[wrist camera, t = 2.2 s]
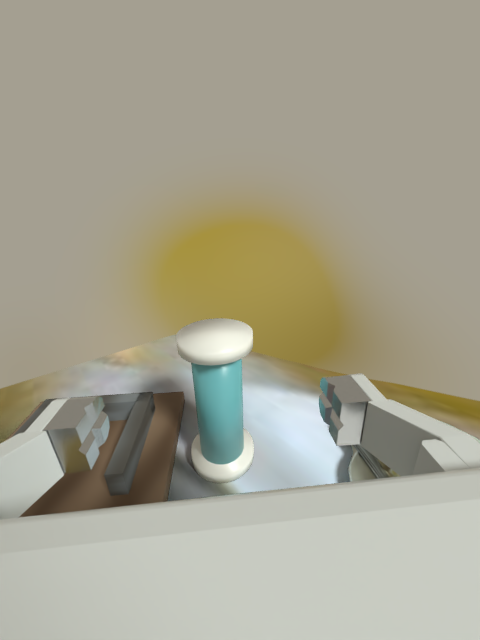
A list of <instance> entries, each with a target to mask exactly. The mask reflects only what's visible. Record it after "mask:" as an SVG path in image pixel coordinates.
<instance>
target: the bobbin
mask: <svg viewBox="0 0 480 640" xmlns="http://www.w3.org/2000/svg"><path fill="white" fill-rule="evenodd" d="M176 341H177V348H178V353H179V355H180V356H181V357H182V358H183V359H184V360H186V361H188V362H191V364H192V373H193V382H194V391H195V400H196V409H197V418H198V427H199V433H198V435H197V436H196V437H195V439H194V440H193V443H192V446H191V455H192V463H193V467H194V469H195V471H196V472H197V474H198V475H199V476H201V477H202V478H203V479H205V480H207V481H210V482H213V483H228V482H232V481H234V480H237V479H238V478H240V477H242V476H243V475H244V474H245V473H246V472H247V471H248V470H249V468H250V467H251V465H252V462H253V458H254V444H253V439H252V437H251V435H250V434H249V433H248V431H247V430H245V429H244V428H243V395H242V358H243V357H245V356H246V355H248V354H249V353H250V351H251V350H252V347H253V332H252V329H251V327H250V326H248V325H247V324H245V323H243V322H240V321H237V320H232V319H207V320H201V321H197V322H194V323H191V324H189V325H187V326H185V327H183V328H182V329H180V330H179V331H178V333H177V335H176Z"/></svg>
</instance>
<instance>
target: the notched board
mask: <svg viewBox="0 0 480 640" xmlns="http://www.w3.org/2000/svg"><path fill="white" fill-rule="evenodd" d="M88 397H93V396H88ZM100 397H101V398H102V399H103V402H104V405H105V406H104V408H103V409H102V411H103V412H104V413H105V414H107V415H108V418H109V426H110V428H109V433H108V437H107V439H106V441H105V443H104V444H102V445H101V446H100V447H99V448H98V450H99V455H98V457H97V459H96V461H95V463H94V465H93V467H92V469H91V470H89V471H81V472H74V473H66V474H64V476H63V477H62V478H61V479H59V480H58V481H57V482H56V483H55V484H54V485H53V486H52V487H51V488H50V489H49V490H48V491H47V492H45V493H44V494H43V495H42V496H41V497H40V498H39V499H38V500H37V501H36V502H35V503H34V504H32V505H31V506H30V507H29V508H28V509H27V510H26V511H25V512H24V513H23V514H22V515H21V516H20V517H27V516H37V515H46V514H55V513H64V512H74V511H83V510H92V509H101V508H111V507H120V506H129V505H139V504H148V503H157V502H166V501H167V500H168V494H169V488H170V482H171V476H172V471H173V465H174V459H175V453H176V447H177V442H178V436H179V430H180V424H181V418H182V413H183V407H184V401H185V400H184V393H183V392H171V393H157V394H153V393H152V392H145V393H131V394H116V395H102V396H100ZM74 398H77V397H74ZM60 399H64V398H60ZM53 400H56V399H46V400H45V401H44V402H41V403H40V404H39V405H38V406H37V407H36V408H35V409H34V410H33V411H32V412H31V414H30V415H29V416H28V417H27V418H26V419H25V420H24V421H23V422H22V423H21V424H20V425H19V427H18V428H17V429H16V430H15V431H14V432H13V433H12V434H11V435H10V436H9V437H8V438H7V439H6V440H8V439H10V438H12V437H13V436H15V435H17V434H19V433H24V432H25V431H26V430H27V429H28V428H29V427H30V426H31V424H32V423H33V422H34V421H35V420H36V419H37V418H38V417H39V415H40V414H41V413H42V412H43V411H44V410H45V409H46V408H47V407H48V405H49V404H50V403H51V402H52V401H53Z"/></svg>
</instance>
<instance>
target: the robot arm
mask: <svg viewBox="0 0 480 640" xmlns="http://www.w3.org/2000/svg"><path fill="white" fill-rule="evenodd" d="M320 388H321V389H322V391H323V393H322V394H321V395H320V396H319V408H320V413H321V416H322V418H323V420H324V422H325V423H327V424H328V425H330V426H329V432H330V434H331V436H332V438H333V440H334V442H335V443H336V445H337V446H342V445H356V444H361V446H362V447H363V448H365V449H366V450H367V451H369V452H370V453H371V454H372V455H374V456H375V457H376V458H378V459H379V460H380V461H381V462H383V463H384V464H385V465H387V466H388V467H389V468H391V469H392V470H393V471H394V472H396V473H397V474H398V475H400V476H398V477H389V478H380V479H371V480H362V481H352V482H343V483H334V484H325V485H315V486H306V487H297V488H287V489H278V490H268V491H259V492H249V493H240V494H231V495H222V496H212V497H203V498H194V499H185V500H175V501H166V502H157V503H148V504H139V505H129V506H120V507H111V508H101V509H92V510H83V511H74V512H64V513H55V514H46V515H37V516H27V517H20V516H21V515H22V514H23V513H24V512H25V511H26V510H27V509H28V508H29V507H30V506H31V505H32V504H34V503H35V502H36V501H37V500H38V499H39V498H40V497H41V496H42V495H43V494H44V493H45V492H47V491H48V490H49V489H50V488H51V487H52V486H53V485H54V484H55V483H56V482H57V481H58V480H59V479H61V478H62V477H63V476H64V474H66V473H74V472H81V471H89V470H91V469H92V467H93V465H94V463H95V461H96V459H97V457H98V455H99V450H98V448H99V447H100V446H101V445H102V444H104V443H105V441H106V439H107V437H108V433H109V428H110V426H109V418H108V415H107V414H105V413H104V412H103V411H102V409H103V408H104V406H105V405H104V402H103V399H102V398H101V397H100V396H93V397H77V398H64V399H56V400H53V401H52V402H51V403H50V404H49V405H48V407H47V408H46V409H45V410H44V411H43V412H42V413H41V414H40V415H39V417H38V418H37V419H36V420H35V421H34V422H33V423H32V424H31V426H30V427H29V428H28V429H27V430H26V431H25V432H24V433H19V434H17V435H15V436H13V437H12V438H10V439H8V440H6V441H5V442H3V443H1V444H0V640H480V443H478V442H477V441H476V440H475V439H474V438H473V437H472V436H470V435H469V434H467V433H464V432H462V431H460V430H458V429H456V428H453V427H451V426H449V425H447V424H444V423H442V422H440V421H438V420H436V419H433V418H431V417H429V416H427V415H424V414H422V413H420V412H418V411H415V410H413V409H411V408H409V407H407V406H404V405H402V404H400V403H398V402H395V401H393V400H387V399H386V398H385V397H384V396H383V395H382V394H381V393H380V392H379V391H378V390H377V388H376V387H375V386H374V385H373V384H372V383H371V382H370V381H369V380H368V379H367V378H366V377H365V375H363V374H351V375H345V376H334V377H324V378H322V379H321V383H320Z"/></svg>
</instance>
